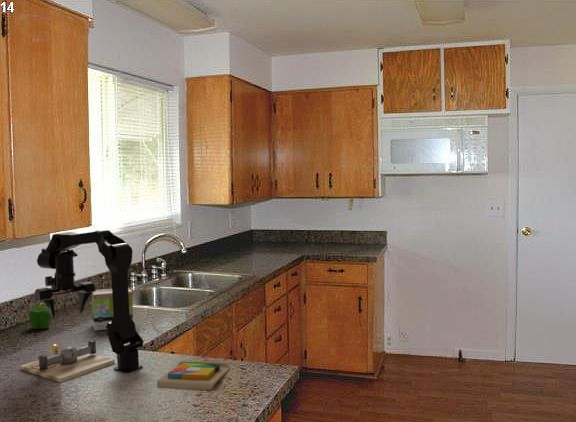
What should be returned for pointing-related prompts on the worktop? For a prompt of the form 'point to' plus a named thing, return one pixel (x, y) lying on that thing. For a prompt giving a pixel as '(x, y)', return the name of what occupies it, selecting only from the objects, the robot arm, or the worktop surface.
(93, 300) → the tea box
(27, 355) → the worktop surface
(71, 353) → the bell crank
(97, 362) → the board
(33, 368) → the level window
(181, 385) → the wooden puzzle
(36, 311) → the bell pepper
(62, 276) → the robot arm
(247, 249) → the worktop surface
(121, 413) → the worktop surface
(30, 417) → the worktop surface
